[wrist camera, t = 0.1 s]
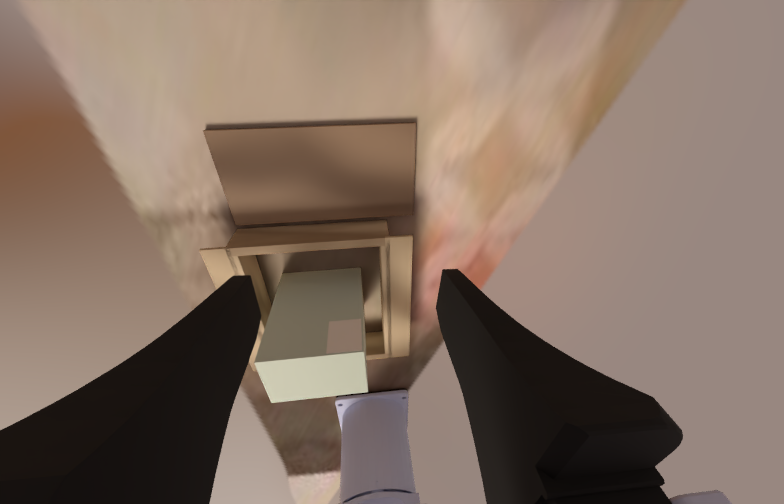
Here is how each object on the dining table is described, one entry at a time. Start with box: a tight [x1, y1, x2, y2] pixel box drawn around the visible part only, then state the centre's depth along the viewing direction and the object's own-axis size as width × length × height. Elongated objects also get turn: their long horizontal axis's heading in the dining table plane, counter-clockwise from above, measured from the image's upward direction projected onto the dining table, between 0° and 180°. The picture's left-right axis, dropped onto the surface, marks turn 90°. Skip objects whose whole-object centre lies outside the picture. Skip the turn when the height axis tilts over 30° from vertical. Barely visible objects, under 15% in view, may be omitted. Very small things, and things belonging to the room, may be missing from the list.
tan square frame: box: [199, 220, 413, 371], centre depth 23 cm, size 12×13×2 cm
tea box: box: [254, 267, 368, 403], centre depth 21 cm, size 4×6×8 cm
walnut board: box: [203, 122, 416, 226], centre depth 19 cm, size 6×12×1 cm, turn 91°
